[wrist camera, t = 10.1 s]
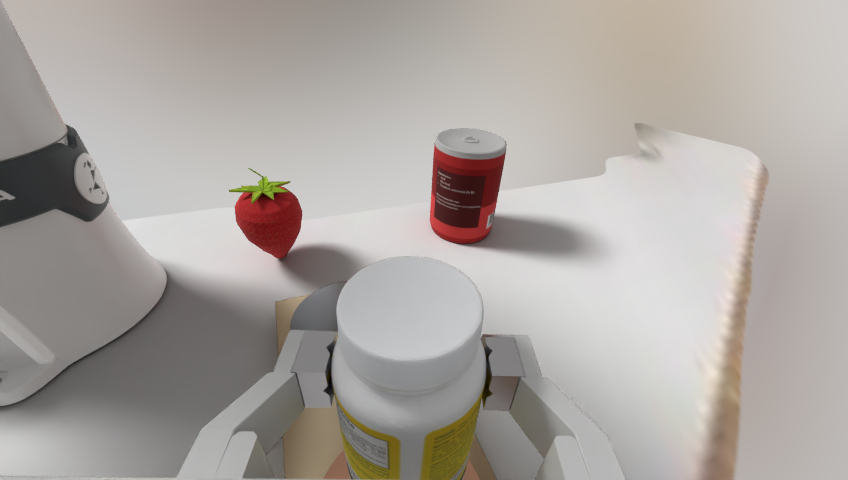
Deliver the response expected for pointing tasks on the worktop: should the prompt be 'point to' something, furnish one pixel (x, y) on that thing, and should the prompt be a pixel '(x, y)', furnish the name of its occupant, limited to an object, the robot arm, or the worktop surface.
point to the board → (319, 427)
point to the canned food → (465, 183)
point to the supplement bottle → (408, 369)
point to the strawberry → (269, 216)
